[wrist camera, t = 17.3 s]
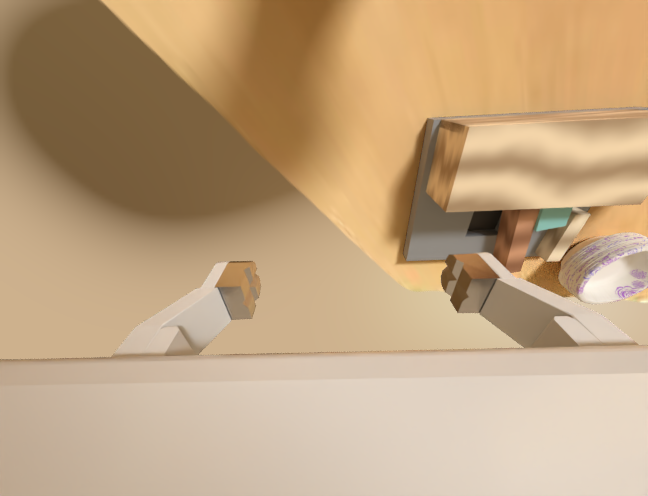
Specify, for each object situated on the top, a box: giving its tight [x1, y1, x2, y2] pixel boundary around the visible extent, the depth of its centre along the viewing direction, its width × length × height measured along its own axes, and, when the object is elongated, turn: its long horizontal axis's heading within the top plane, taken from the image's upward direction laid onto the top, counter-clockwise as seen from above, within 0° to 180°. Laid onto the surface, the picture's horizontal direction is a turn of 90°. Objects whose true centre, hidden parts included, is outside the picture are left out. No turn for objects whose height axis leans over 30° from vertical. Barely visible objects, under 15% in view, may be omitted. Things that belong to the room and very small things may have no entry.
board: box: [403, 107, 648, 261], centre depth 41 cm, size 26×31×2 cm
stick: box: [535, 207, 591, 262], centre depth 43 cm, size 10×2×3 cm, turn 3°
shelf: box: [426, 109, 648, 212], centre depth 33 cm, size 11×27×8 cm, turn 93°
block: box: [534, 207, 573, 231], centre depth 39 cm, size 4×4×4 cm
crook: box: [493, 209, 540, 273], centre depth 42 cm, size 16×8×4 cm, turn 14°
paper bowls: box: [558, 232, 648, 304], centre depth 47 cm, size 15×15×8 cm
